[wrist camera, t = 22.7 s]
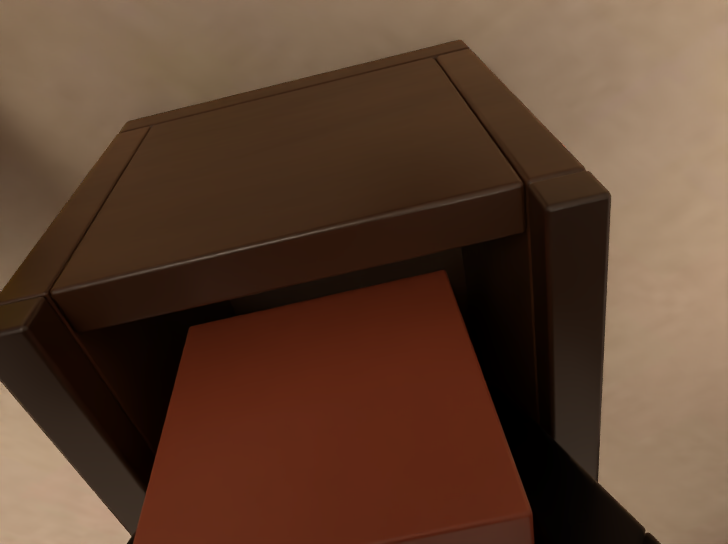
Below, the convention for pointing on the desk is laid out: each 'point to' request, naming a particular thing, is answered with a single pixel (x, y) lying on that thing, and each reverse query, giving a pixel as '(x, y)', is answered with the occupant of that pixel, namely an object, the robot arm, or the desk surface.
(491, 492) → the block
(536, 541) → the robot arm
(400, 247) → the slide box
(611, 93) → the desk surface
